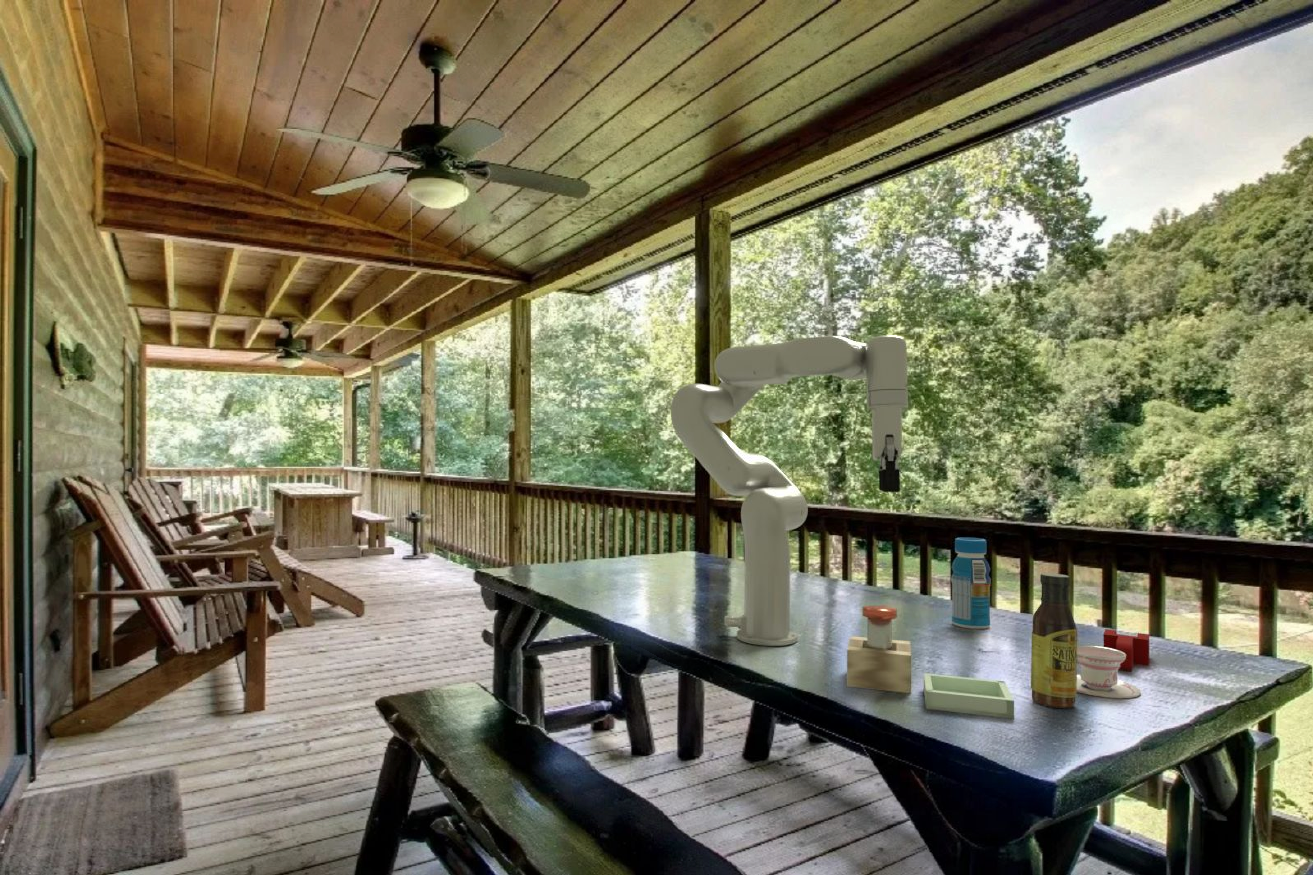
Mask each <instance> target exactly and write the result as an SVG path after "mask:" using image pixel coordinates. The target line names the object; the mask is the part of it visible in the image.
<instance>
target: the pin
mask: <svg viewBox="0 0 1313 875" xmlns="http://www.w3.org/2000/svg"><path fill="white" fill-rule="evenodd" d="M862 616H863V617H866V618H867V620H866V621H867V622H866V623H867V625H866V627H867V628H866V629H867V630H866V631H867V632H866V633H867V634H866V635H867V636H866V638H867V648H870V649H881V650H892V640H893V620H895V619H897V618H898V610H897V608H894V607H892V606H886V605H885V606H884V605H865V606H862Z"/></svg>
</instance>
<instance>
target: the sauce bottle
mask: <svg viewBox="0 0 1313 875" xmlns="http://www.w3.org/2000/svg"><path fill="white" fill-rule="evenodd" d="M1039 578H1040V581H1039V582H1040V584H1041V597H1040V602H1041V603H1040V604H1039V606H1038V608H1037V609H1036V611H1035V612H1034V613H1033V617H1032V631H1031V648H1030V649H1031V655H1030V656H1031V657H1030V659H1031V660H1030V689H1031V699H1032V700H1033V701H1034V702H1035V703H1036V704H1039V705H1043V706H1045V707H1053V708H1059V709H1069V708H1072V707H1074V706H1075V703H1076V699H1077V696H1078V695H1077V694H1078V692H1077V674H1078V672H1077V671H1078V670H1077V669H1078V662H1077V646H1078V628H1077V625H1076V623H1075V622H1076V621H1075V619H1074V617H1073V614H1072V613H1073V612H1072V611H1071V608H1070V605H1069V603H1070V600H1069V589H1070V588H1069V587H1070V585H1071V580H1070V579H1071V578H1070V576H1069V575H1066V574H1060V573H1059V574H1058V573H1047V572H1046V573H1040V577H1039Z"/></svg>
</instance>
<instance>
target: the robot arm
mask: <svg viewBox="0 0 1313 875" xmlns="http://www.w3.org/2000/svg"><path fill="white" fill-rule="evenodd" d="M907 346H908V345H907V341H906V340H905V338H903V337H902V336H899V335H878V336H875V337H871V338H870V339H869V340H867V341H866V343H863V342H858V341H854V340H852V339H850V338H847V337H843V336H840V335H839V336H838V335H827V336H825V335H824V336H813V337H803V338H795V339H792V340H789V341H784V342H780V343H771V344H769V343H768V344H760V345H759V344H757V345H756V344H755V345H746V346H743V345H742V346H734V347H729V348H726V349H723V350H722V351H721V352H719V353H718V354H717V356H716V358H715V360H714V372H715V375H716V377H717V379H719V381H721V382H720V383H719V384H718V385H717V386H715V385H711V384H710V385H709V384H706V383H704V384H703V383H689V384H686V385H684V386H681V387H680V388H679V389H678V390H677V391H676V392H675V394H674V395H673V398H672V401H671V404H670V405H671V406H670V420H671V425H672V427H673V429H674V431H675V434H676V435H677V437H678V438H679V440H680V442H682V443H683V445H684V446H685V447H686V448H687V449H688V450H689V451H690V453H691V454H692V455H693V456H694V457H695V458H696V460H698V462H699V464H700V465H701V466H702V467H703V468H704V469H705V471H707V473H708V474H709V475H710V476H711V478H712V479H714V481H715V482H716V484H717V485H718V486H719V487H720V489H722V490H723V491H724V492H725V493H726V494H728V495H730V496H739V497H741V496H742V497H744V496H745V498H744V500H743V502H742V505H741V510H740V519H741V525H742V531H743V541H744V542H743V543H744V593H743V594H744V595H743V597H744V598H743V600H744V602H743V603H744V605H743V606H744V607H743V612H744V613H743V615H739V616H731V615H724V619H723V623H724V626H727V627H729V628H738V630H737V631H736V639H738V640H739V641H741V642H743V643H747V644H751V645H756V646H764V647H765V646H766V647H767V646H769V647H777V646H781V647H782V646H788V645H792V644H795V643H796V642H797V641H798V633H796V632H794V631H792V630H791V548H790V542H789V537H788V532H787V531H792V530H796V529H797V528H799V527H801V526H802V525H803V524H804V523H805V522H806V520H807V517H808V512H809V510H808V509H809V508H808V503H807V500H806V498H805V496H804V494H803V493H802V492H801V491H800V490H799V488H798V487H797V486H796V485H795V484H794V483H793V482H792V481H791V480H790V479H789V477H787V475H785V474H784V472H783V471H782V470H781V469H780V468H779V467H778V465H776V464H775V463H774V462H773V461H772V460H771V459H769V457H766V456H765V455H762V454H759V453H754V452H746V451H744V450H742V449H741V448H739V447H738V446H737V444H735V443H734V442H733V441H732V440H731V438H730V437H729V436H728V435H727V434H726V433H725V432H724V431H723V430H722V429H721V428H719V426H716V425H715V424H723V423H725V422H729V421H731V420H732V419H733V418H734V417H735V416H736V415H737V414H738V413H739V412H740V411H741V410H742V409H743V408H744V407H745V406H746V405H747V404H748V403H749V402H750V401H751V400H752V399H753V398H754V396H755V395H756V394H757V393H759V391H760V390H761V388H763V386H764V385H783V384H786V383H788V382H790V381H791V379H792V378H793V379H794V378H797V377H805V376H806V377H807V376H808V377H809V376H834V377H837V378H841V379H845V380H847V381H848V380H849V381H854V380H855V381H857V380H861V379H865V384H866V386H865V387H866V410H867V411H872V416H871V417H872V419H871V436H872V437H871V439H872V444H871V446H872V447H871V448H872V460H873V461H878V458H879V470H878V489H879V491H880V492H883V493H897V492H898V493H899V492H901V491H900V490H901V482H900V481H901V480H900V479H901V478H900V476H901V475H900V469H899V460H900V459H901V457H902V448H903V447H902V445H903V443H902V442H903V420H902V419H903V417H902V414H903V412H902V411H903V410H907V409H909V397H908V396H909V394H908V389H909V388H908V352H907V350H908V348H907Z"/></svg>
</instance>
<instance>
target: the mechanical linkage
mask: <svg viewBox="0 0 1313 875" xmlns="http://www.w3.org/2000/svg"><path fill="white" fill-rule="evenodd" d="M1103 647H1107V648H1112V649H1116V650H1119V651H1122V652H1124V653H1125V654H1126V659H1125V661H1123V662H1122V663H1121V664H1120V666H1121V667H1120V668H1119V669H1118V671H1119V670H1120V671H1128V672H1133V667H1134V664H1135V665H1142V666H1148V667H1149V665H1150V634H1149V633H1141V632H1138V633H1137V636H1134V635H1126V634H1120V633H1119V634H1118V633H1117V630H1116V629H1109V628H1105V629H1104V632H1103Z"/></svg>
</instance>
